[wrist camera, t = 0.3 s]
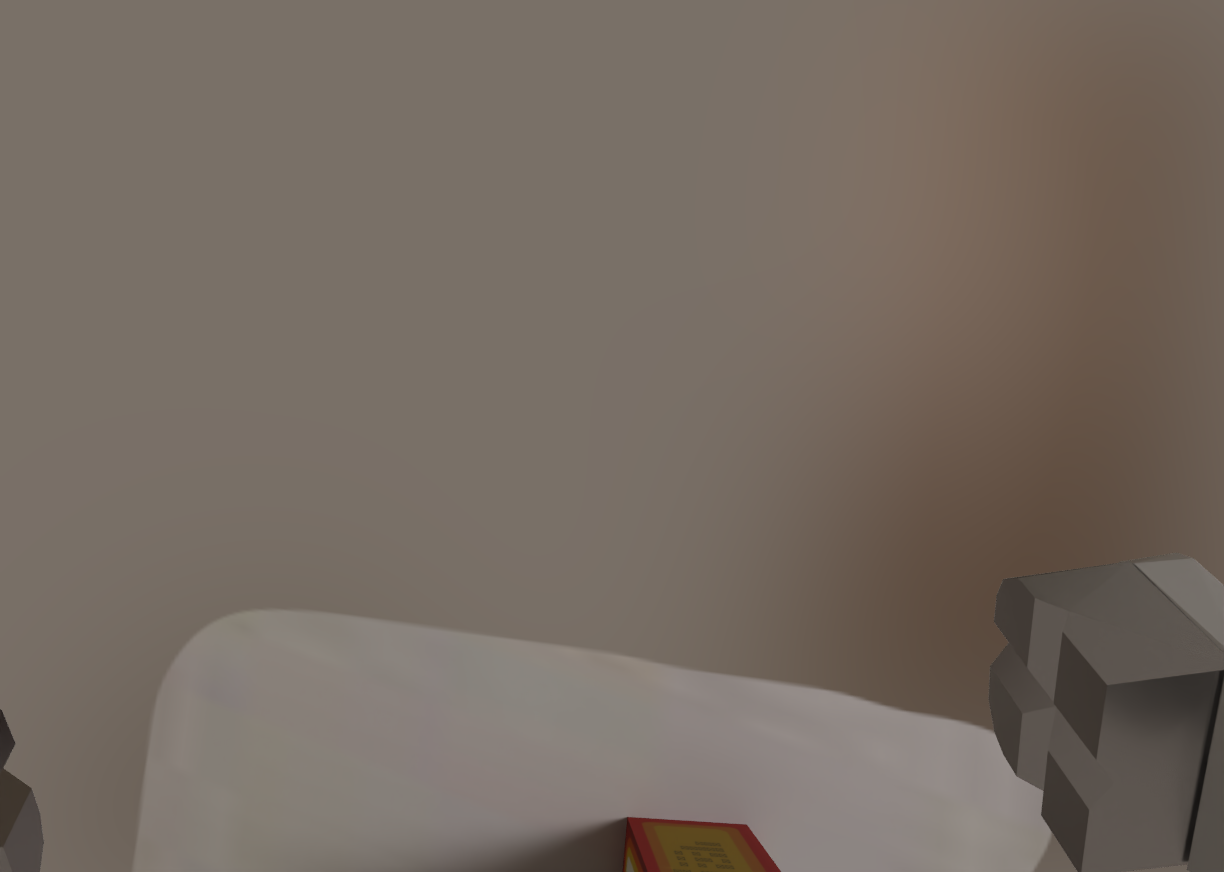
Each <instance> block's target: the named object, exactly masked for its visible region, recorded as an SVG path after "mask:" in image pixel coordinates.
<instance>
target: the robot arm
mask: <svg viewBox="0 0 1224 872" xmlns="http://www.w3.org/2000/svg"><path fill="white" fill-rule="evenodd" d="M994 622H995V624H996V625H997V627H998V628H999V629H1000V631H1001V632H1002V633H1003V635H1004V636H1005V637H1006V639H1007V640H1008V642H1009V643H1008V644H1007V646H1006V647H1005V648H1004V649H1003V651H1002V652H1001V653H1000V654H999V656H998V657H997V658H996V660H995V661H994V662H993V663H992V664H991V666H990V680H989V704H990V709H991V715H992V721H993V727H994V732H995V734H996V737H997V740H998V742H999V745H1000V747H1001V750H1002V752H1003V755H1004V756H1005V758H1006V760H1007V761H1008V763H1009V765H1010V766H1011V768H1012V769H1013V771H1014V773H1015V774H1016V776H1017V777H1019V778H1021V779H1023V780H1024V781H1026V782H1028V783H1030V784H1032V785H1034V786H1035V787H1037V788H1039V789H1041V790H1043V791H1044V792H1043V802H1042V811H1041V816H1042V817H1043V819H1044V820H1045V822H1046V823H1047V825H1048V826H1049V828H1050V830H1051V831H1052V833H1053V834H1054V836H1055V837H1056V839H1057V840H1058V842H1059V844H1060V845H1061V847H1062V848H1063V850H1064V851H1065V853H1066V854H1067V856H1068V857H1069V859H1070V861H1071V862H1072V864H1073V865H1074V867H1075V868H1076V870H1077V871H1078V872H1125V871H1134V870H1142V869H1151V868H1160V867H1169V866H1178V865H1186V864H1188V867H1187V870H1189V871H1190V872H1224V585H1223V584H1222V583H1221V582H1219V581H1218V580H1217V579H1216V578H1215V577H1214V576H1213V575H1212V574H1211V573H1209V572H1208V571H1207V570H1206V569H1205V568H1204V567H1203V566H1201V565H1200V564H1199V563H1198V562H1197V561H1196V560H1195V559H1193V558H1191V557H1188V556H1185V555H1182V554H1179V553H1173V554H1166V555H1160V556H1154V557H1147V558H1141V559H1135V560H1128V561H1122V562H1119V563H1115V564H1109V565H1101V566H1094V567H1087V568H1080V569H1073V570H1065V571H1058V572H1051V573H1044V574H1036V575H1029V576H1022V577H1015V578H1008V579H1003V581H1002V584H1001V586H1000V589H999V591H998V594H997V597H996V607H995V617H994ZM14 746H15V741H14V739H13V736H12V734H11V731H10V729H9V727H8V724H7V722H6V719H5V717H4V714H3V712H2V710H1V709H0V872H40V867H41V859H42V852H43V844H44V841H43V833H42V825H41V817H40V812H39V809H38V806H37V803H36V800H35V797H34V794H33V791H32V789H31V788H30V787H29V786H28V785H26V784H25V783H23V782H22V781H21V780H19V779H17V778H16V777H15V776H13V775H12V774H11V773H9V772H8V771H6V770H5V769H4V766H5V764H6V762H7V760H8V758H9V756H10V753H11V752H12V749H13V748H14Z"/></svg>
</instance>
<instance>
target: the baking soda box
mask: <svg viewBox="0 0 1224 872" xmlns="http://www.w3.org/2000/svg"><path fill="white" fill-rule="evenodd" d="M623 872H781V871H780V870H779V868H778V867H777V866H776V864H775V863H774V861H773V860H772V859H771V857H770V856H769V855H768V853H767V852H766V850H765V849H764V848H763V846H762V845H761V844H760V842H759V841H758V839H757V838H756V837H755V835H754V834H753V833H752V831H751V830H750V828H749V827H748V826H747V825H743V824H727V823H712V822H696V821H680V820H664V819H649V818H633V817H627V827H626V839H625V851H624V862H623Z"/></svg>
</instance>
